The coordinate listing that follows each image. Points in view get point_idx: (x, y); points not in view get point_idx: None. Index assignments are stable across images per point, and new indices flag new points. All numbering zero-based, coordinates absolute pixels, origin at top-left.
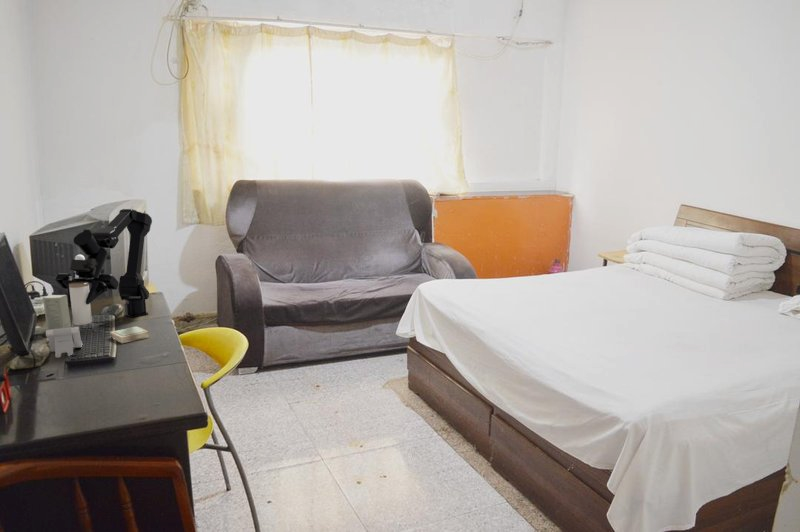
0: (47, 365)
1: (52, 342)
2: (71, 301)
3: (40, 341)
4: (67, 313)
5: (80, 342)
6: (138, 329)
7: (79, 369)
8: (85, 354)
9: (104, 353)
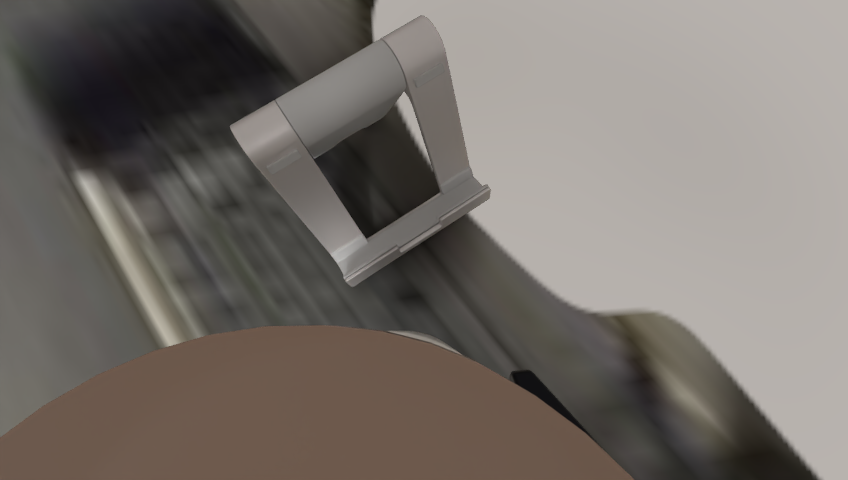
0: (342, 20)
1: (443, 140)
2: (452, 349)
3: (695, 345)
4: None
5: (323, 237)
6: None
7: (159, 2)
8: (259, 182)
9: (164, 213)
